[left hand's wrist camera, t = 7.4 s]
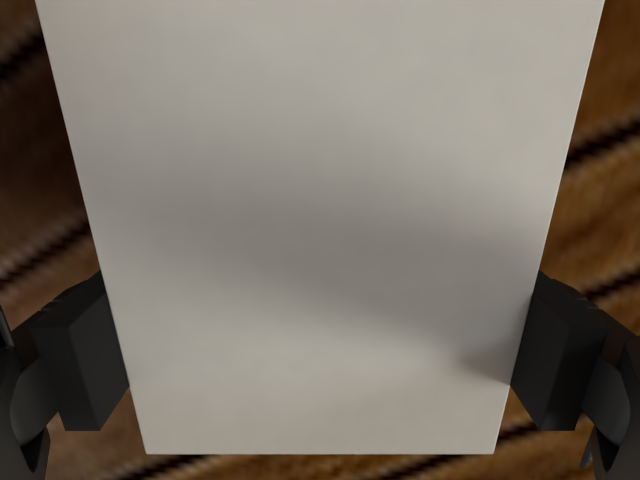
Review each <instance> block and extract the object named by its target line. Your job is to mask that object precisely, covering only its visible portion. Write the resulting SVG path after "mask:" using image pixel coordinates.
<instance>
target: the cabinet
mask: <svg viewBox="0 0 640 480" xmlns="http://www.w3.org/2000/svg"><path fill="white" fill-rule="evenodd" d="M604 1H605V0H35V3H36V7H37V11H38V15H39V19H40V23H41V27H42V31H43V35H44V39H45V43H46V47H47V51H48V56H49V60H50V64H51V68H52V72H53V76H54V80H55V84H56V88H57V92H58V96H59V100H60V104H61V109H62V113H63V117H64V121H65V125H66V129H67V133H68V137H69V141H70V145H71V149H72V153H73V158H74V162H75V166H76V170H77V174H78V178H79V182H80V186H81V190H82V194H83V198H84V202H85V206H86V211H87V215H88V219H89V223H90V227H91V231H92V235H93V239H94V243H95V247H96V251H97V255H98V259H99V264H100V268H101V272H102V276H103V280H104V284H105V288H106V292H107V296H108V300H109V304H110V308H111V312H112V317H113V321H114V325H115V329H116V333H117V337H118V341H119V345H120V349H121V353H122V357H123V361H124V365H125V370H126V374H127V378H128V382H129V386H130V390H131V394H132V398H133V402H134V406H135V410H136V414H137V418H138V423H139V427H140V431H141V435H142V439H143V443H144V447H145V451H146V454H493V453H494V449H495V445H496V441H497V436H498V432H499V428H500V424H501V420H502V416H503V412H504V408H505V404H506V400H507V396H508V392H509V388H510V384H511V379H512V375H513V371H514V367H515V363H516V359H517V355H518V351H519V347H520V343H521V339H522V335H523V331H524V327H525V322H526V318H527V314H528V310H529V306H530V302H531V298H532V294H533V290H534V286H535V282H536V278H537V274H538V270H539V266H540V261H541V257H542V253H543V249H544V245H545V241H546V237H547V233H548V229H549V225H550V221H551V217H552V213H553V209H554V204H555V200H556V196H557V192H558V188H559V184H560V180H561V176H562V172H563V168H564V164H565V160H566V156H567V152H568V147H569V143H570V139H571V135H572V131H573V127H574V123H575V119H576V115H577V111H578V107H579V103H580V99H581V95H582V90H583V86H584V82H585V78H586V74H587V70H588V66H589V62H590V58H591V54H592V50H593V46H594V42H595V38H596V33H597V29H598V25H599V21H600V17H601V13H602V9H603V5H604Z"/></svg>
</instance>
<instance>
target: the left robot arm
mask: <svg viewBox="0 0 640 480" xmlns="http://www.w3.org/2000/svg"><path fill="white" fill-rule="evenodd" d="M510 386H511V388H512V389H513V391H514V392H515V394H516V395H517V397H518V398H519V400H520V401H521V403H522V404H523V406H524V407H525V409H526V411H527V412H528V414H529V415H530V417H531V418H532V420H533V421H534V423H535V424H536V426H537V427H538V429H539V430H540V431H574V430H575V427H576V424H577V421H578V418H579V415H580V412H581V410H583V411H584V412H585V414H586V415H587V416H588V417H589V418H590V420H591V421H592V422H593V423H594V427H593V429H592V432H591V435H590V437H589V440H588V443H587V445H586V448H585V451H584V453H583V456H582V459H581V464H580V467H583V468H585V469H586V468H587V466H588V463H589V461H590V460H592V459H593V466H594V472H595V479H596V480H640V336H636V335H635V334H634V333H632V332H631V331H630V330H628V329H627V328H626V327H624V326H623V325H622V324H620V323H619V322H618V321H616V320H615V319H614V318H613V317H611V316H610V315H609V314H607V313H606V312H605V311H603V310H602V309H599V307H598V306H597V305H595V304H594V303H593V302H591V301H590V300H587V298H586V297H585V296H583V295H582V294H581V293H580V292H578V291H577V290H576V289H574V288H573V287H570V286H568V285H566V284H564V283H562V282H560V281H558V280H556V279H550V278H549V277H548V276H546V275H545V274H544V273H543V272H541V271H540V270H538V274H537V278H536V282H535V286H534V290H533V294H532V298H531V302H530V306H529V310H528V314H527V318H526V322H525V327H524V331H523V335H522V339H521V343H520V347H519V351H518V355H517V359H516V363H515V367H514V371H513V375H512V379H511V384H510ZM128 387H129V382H128V378H127V374H126V370H125V365H124V361H123V357H122V353H121V349H120V345H119V341H118V337H117V333H116V329H115V325H114V321H113V317H112V312H111V308H110V304H109V300H108V296H107V292H106V288H105V284H104V280H103V276H102V272H101V270H99V271H98V272H97V273H96V274H94V275H93V276H92V277H91V278H89V279H88V280H85V281H83V282H81V283H79V284H77V285H74V286H72V287H70V288H68V289H66V290H65V291H64V292H62V293H61V294H60V295H58V296H57V297H56V298H54V299H53V302H49V303H48V304H47V305H45V306H44V307H43V308H41V311H37V312H36V313H35V314H33V315H32V316H31V317H30V318H28V319H27V320H26V321H24V322H23V323H22V324H20V325H19V326H18V327H16V328H15V329H14V330H13V331H10V328H9V326H8V323H7V320H6V318H5V315H4V312H3V310H2V307H1V305H0V480H45V473H46V467H47V461H48V454H49V448H50V436H49V432H48V429H47V427H46V425H47V424H48V422H49V421H50V420H51V419H52V418H53V416H54V415H55V414H56V413H57V412H58V411H59V414H60V417H61V420H62V422H63V425H64V428H65V431H100V430H101V428H102V427H103V425H104V424H105V422H106V421H107V419H108V418H109V416H110V415H111V413H112V411H113V410H114V408H115V407H116V405H117V404H118V402H119V401H120V399H121V398H122V396H123V395H124V393H125V392H126V390H127V389H128Z"/></svg>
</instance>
